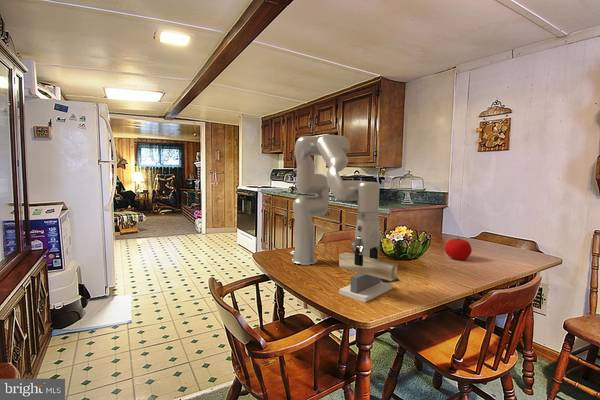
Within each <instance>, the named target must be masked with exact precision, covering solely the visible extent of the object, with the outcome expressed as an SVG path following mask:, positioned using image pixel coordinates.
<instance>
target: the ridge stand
mask: <svg viewBox="0 0 600 400" xmlns="http://www.w3.org/2000/svg"><path fill="white" fill-rule="evenodd" d="M392 289H393V284H391V283H389V282H387V283H384V282H381V278H378V277H374V276H371V275H367V274H363V273H360V272H358V273H356V274H353V275H351V276H350V284H349V285H346V286H344V287H342V288H339V289H338V294H339V295H342V296H346V297H348V298H352V299H355V300H357V301H359V302H362V303H367V302H369V301H370V300H373V299H375V298H377V297H379V296H380V295H383V294H384V293H386V292H389V291H390V290H392Z"/></svg>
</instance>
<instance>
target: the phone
mask: <svg viewBox="0 0 600 400" xmlns="http://www.w3.org/2000/svg"><path fill="white" fill-rule="evenodd" d="M399 280H400V279H399V278H398V277H397V278H396V279H394V280H392V281H389V280H386V279H382V278H381V282H384V283H395V282H399Z"/></svg>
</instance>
